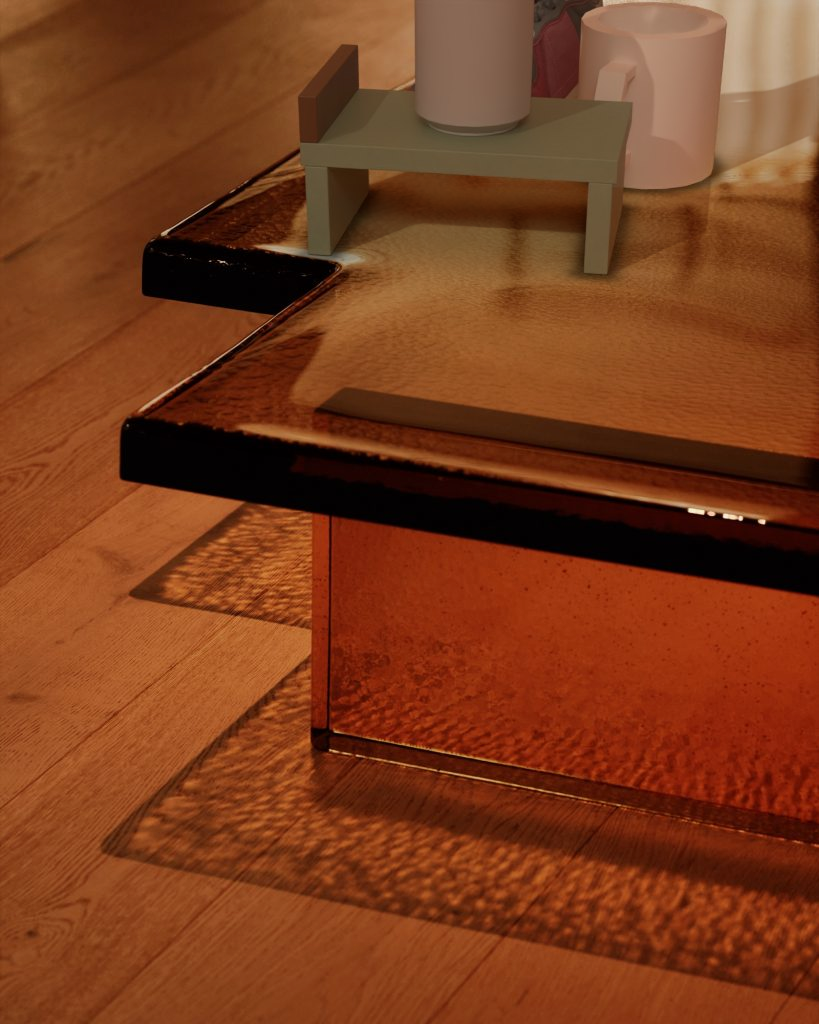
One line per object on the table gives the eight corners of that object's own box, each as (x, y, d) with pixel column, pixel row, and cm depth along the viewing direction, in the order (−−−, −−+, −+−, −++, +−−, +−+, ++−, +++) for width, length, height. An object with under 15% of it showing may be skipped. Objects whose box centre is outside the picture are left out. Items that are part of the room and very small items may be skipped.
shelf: (626, 208, 112) (635, 57, 106) (611, 275, 101) (621, 112, 96) (345, 191, 115) (341, 43, 109) (304, 254, 105) (297, 95, 99)
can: (432, 100, 108) (432, -86, 102) (541, 109, 106) (548, -81, 100) (401, 135, 102) (399, -61, 96) (516, 144, 100) (522, -55, 94)
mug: (676, 213, 111) (689, 58, 105) (538, 192, 114) (543, 42, 109) (729, 153, 121) (743, 10, 116) (600, 136, 125) (608, -4, 119)
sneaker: (373, 159, 121) (370, -3, 114) (525, 64, 142) (529, -78, 136) (496, 180, 116) (500, 13, 110) (634, 78, 138) (643, -67, 132)
